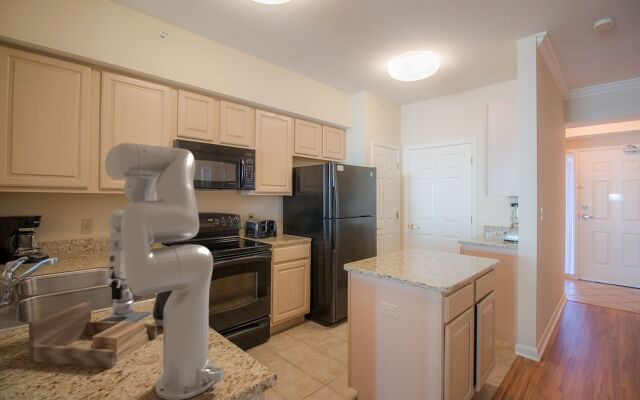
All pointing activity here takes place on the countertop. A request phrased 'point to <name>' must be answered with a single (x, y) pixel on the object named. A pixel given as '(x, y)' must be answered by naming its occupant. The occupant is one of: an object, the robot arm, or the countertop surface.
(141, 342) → the offcut stack
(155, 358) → the countertop surface
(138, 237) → the robot arm
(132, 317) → the mat
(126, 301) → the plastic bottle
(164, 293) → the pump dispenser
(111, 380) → the countertop surface
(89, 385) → the countertop surface
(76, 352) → the rack
